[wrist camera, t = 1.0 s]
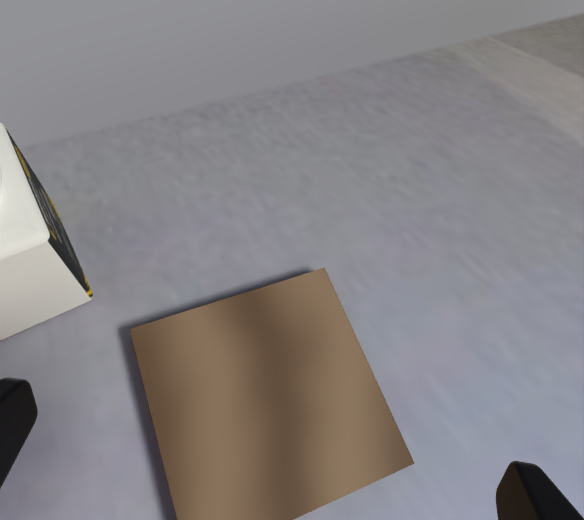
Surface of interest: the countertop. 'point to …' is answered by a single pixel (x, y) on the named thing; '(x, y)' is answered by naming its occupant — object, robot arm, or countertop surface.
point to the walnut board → (265, 404)
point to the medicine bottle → (32, 249)
